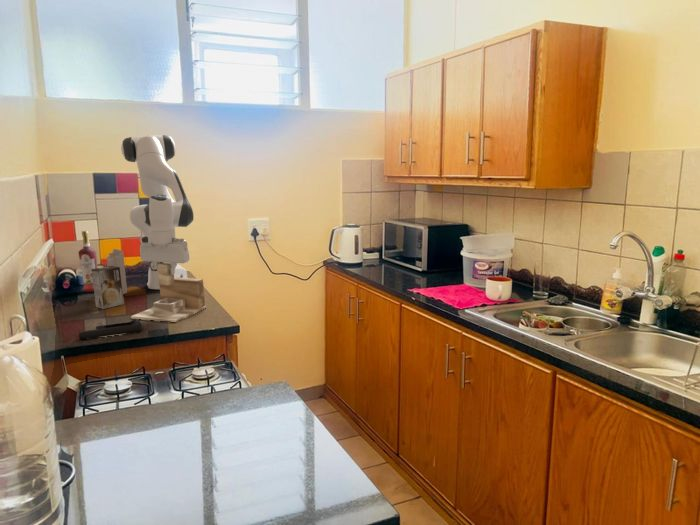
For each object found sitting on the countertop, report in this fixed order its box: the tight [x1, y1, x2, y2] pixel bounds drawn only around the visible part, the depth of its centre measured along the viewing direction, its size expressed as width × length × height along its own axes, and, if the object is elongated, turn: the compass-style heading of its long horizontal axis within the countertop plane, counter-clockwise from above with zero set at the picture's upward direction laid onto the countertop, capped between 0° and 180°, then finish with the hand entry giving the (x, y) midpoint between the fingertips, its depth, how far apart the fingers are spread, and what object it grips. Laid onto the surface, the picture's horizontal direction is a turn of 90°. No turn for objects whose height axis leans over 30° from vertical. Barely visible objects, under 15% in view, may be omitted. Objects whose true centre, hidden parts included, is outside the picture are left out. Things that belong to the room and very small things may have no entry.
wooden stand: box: [130, 277, 207, 322], centre depth 207 cm, size 20×20×12 cm
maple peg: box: [157, 263, 174, 285], centre depth 204 cm, size 4×4×8 cm
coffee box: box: [91, 265, 125, 310], centre depth 219 cm, size 9×6×16 cm
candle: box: [106, 248, 128, 295], centre depth 236 cm, size 7×14×20 cm, turn 159°
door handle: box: [78, 319, 143, 340], centre depth 187 cm, size 3×20×16 cm
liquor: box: [78, 230, 98, 293], centre depth 243 cm, size 7×7×28 cm
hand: (166, 273), depth 204 cm, fingers closed on maple peg, 4 cm apart
